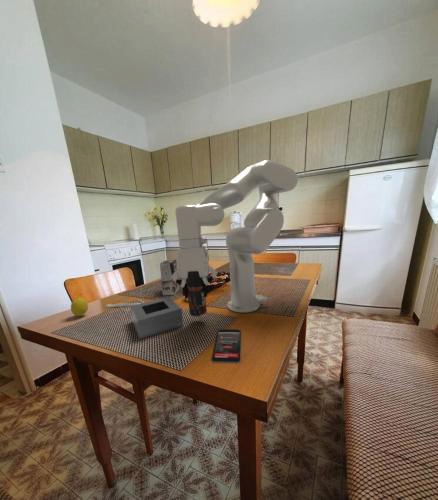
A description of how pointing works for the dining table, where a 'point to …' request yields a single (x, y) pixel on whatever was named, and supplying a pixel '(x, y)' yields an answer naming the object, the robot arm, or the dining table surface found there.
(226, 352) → the smartphone
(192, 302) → the deodorant
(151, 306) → the socket block
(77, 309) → the lemon
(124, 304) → the crossbow
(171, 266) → the coffee box
